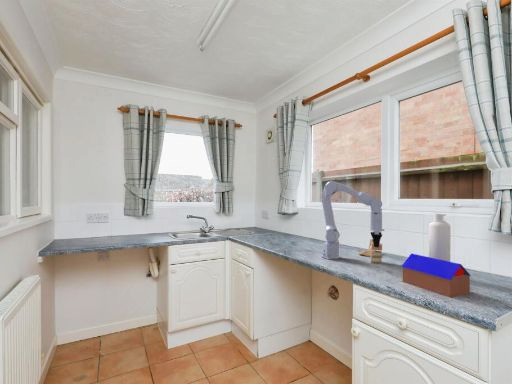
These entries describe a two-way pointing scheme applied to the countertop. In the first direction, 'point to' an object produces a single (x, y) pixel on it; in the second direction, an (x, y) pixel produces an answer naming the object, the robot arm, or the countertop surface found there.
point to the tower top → (376, 254)
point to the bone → (368, 252)
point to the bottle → (439, 238)
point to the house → (436, 275)
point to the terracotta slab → (377, 247)
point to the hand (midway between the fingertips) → (376, 246)
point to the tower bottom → (376, 260)
